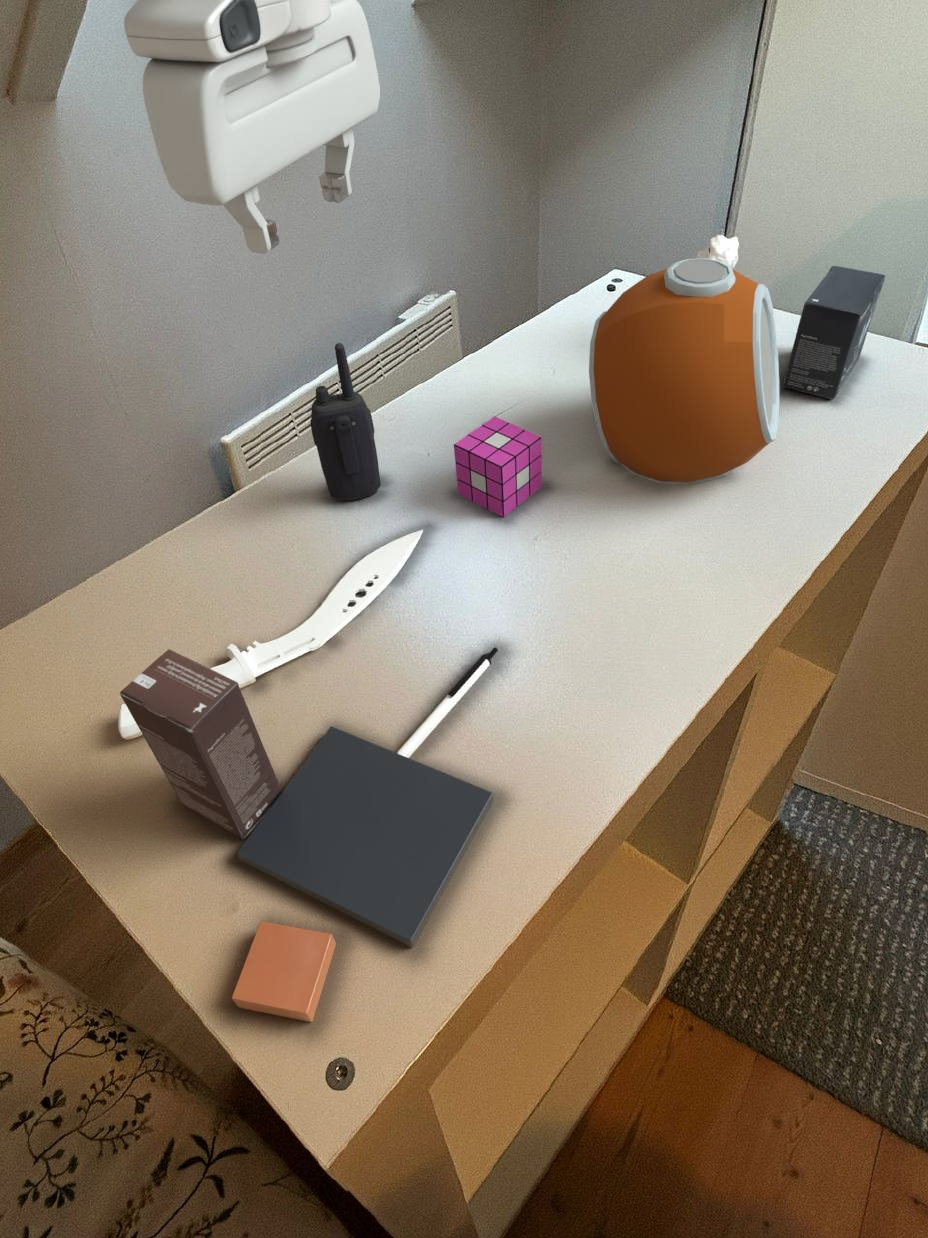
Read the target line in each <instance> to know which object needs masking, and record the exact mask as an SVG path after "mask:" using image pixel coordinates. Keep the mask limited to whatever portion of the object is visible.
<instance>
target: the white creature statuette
mask: <svg viewBox="0 0 928 1238" xmlns="http://www.w3.org/2000/svg"><path fill="white" fill-rule="evenodd" d="M739 245H740V243H739V238H738V237H737V236H732V237H731V238H727V237H726V236H724V234H717V235H715V236H714V237H711V238H710V240H709V242H708V244H707V246H706V247H705V249H702V250H700V251H698V252H697V254H696V255H697V258H706V259H711V260H717V261H721V262H723V263H725V264H726V265H728V266H730V267H731V268H732V270H734V269H735V267H736V265H737V263H738V261H739V253H738V250H739Z"/></svg>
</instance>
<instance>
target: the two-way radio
mask: <svg viewBox="0 0 928 1238" xmlns="http://www.w3.org/2000/svg"><path fill="white" fill-rule="evenodd" d="M334 351H335V358H336V359H335V360H336V366H337V372H338V377H339V383H340V388H341V393H336V394H332V395H330V393H329V390H328V387H326V386H324V385H319V386H317V387H316V388H315V399H314V400H313V402H312V404H311V411H310V413H311V415H310V417H311V419H310V421H309V422H310V428H311V429H310V430H311V434H312V439H313V443H314V445H315V447H316V450H317V454H318V458H319V463H320V467H321V470H322V473H323V477H324V480H325V483H326V487H327V491H328V493H329V495H330V497H331V498H333V499H335V500H336V501H351V500H352V501H353V500H356V499H361V498H365V497H369V496H371V495H374V494H375V493H377V492H378V491H379V489H380V487H381V485H382V484H381V483H382V482H381V475H380V467H379V459H378V452H377V447H376V440H375V425H374V420H373V417H372V416H373V415H372V412H371V410H370V409H369V406H368V405H367V403H366V401H365V399H364V397H363V396H362V395H361V394H360V393H359V392H358V391H355V390H354V385H353V381H352V375H351V371H350V370H351V369H350V367H349V362H348V357H347V354H346V349H345V345H344V343H342V342H337V343H335V345H334Z"/></svg>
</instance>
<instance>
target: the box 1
mask: <svg viewBox="0 0 928 1238" xmlns="http://www.w3.org/2000/svg"><path fill="white" fill-rule="evenodd" d="M119 694H120V695H119V696H120V697H121V699H122V700H123V703H124V704H126V706H127V708H128V709H129V711H130V713H131V715H132V717H133V718H134V720H135V722H136V724H137V725H138V727H139V729H140V731H141V732H142V734H143V735H142V736H143V738H144V739H145V741H146V743H147V745H148V747H149V749H150V750H151V753H152V754H153V756H154V757H155V759H156V761H157V762H158V765H159V766H160V768H161V770H162V771H163V773H164V776H165V777H166V778H167V780H168V782H169V784H170V785H171V788H172V789H173V791H174V793H175V794H176V796H177V798H178V799H179V801H180V803H181V804H182V805H184V806H185V807H187V808H188V809H190V810H191V811H193V812H195V813H197V814H198V815H200V816H201V817H203V818H205V819H207V820H208V821H210V822H212V823H213V824H215V825H216V826H219V827H220V828H222V829H224V830H225V831H227V832H228V833H230V834H232V835H234V836H236V837H237V838H240V839H241V840H244V839H245V838H247V837H248V836H249V835H250V834H251V833H252V832H253V830H254V829H255V828H256V826H257V825H258V824H259V822H260V821H261V820H262V818H263V817H264V816H265V814H266V813H267V812H268V810H269V809H270V808H271V806H272V805H273V803H274V802H275V801H276V799H277V798H278V797H279V795H280V794H281V793H282V791H283V790H282V787H281V785H280V783H279V780H278V778H277V776H276V773H275V770H274V767H273V766H272V764H271V760H270V758H269V756H268V753H267V751H266V749H265V747H264V744H263V741H262V739H261V736H260V734H259V732H258V729H257V726H256V725H255V722H254V719H253V717H252V715H251V712H250V709H249V708H248V705H247V702H246V701H245V697H244V696H243V694H242V690H241V689H240V688H239V685H238V682H236V681H234V680H232V679H230V678H227V677H226V676H224V675H222V674H220V673H218V672H216V671H214V670H211V669H210V667H208V666H205V665H203V664H201V663H199V662H198V661H195V660H193V659H190V658H188V657H187V656H184V655H182V654H180V653H178V652H177V651H174V650H172V649H167V650H166V651H165V652H164V653H162V654H161V655H159V656H158V658H156V659H155V660H154V661H153V662H151V664H150V665H148V666H147V667H146V668H145V669H144V670H143V671H142V672H140V674H138V675H137V677H135V678H134V679H133V680H132V681H131V682H129V684H127V686H125V687H123V689H121V691H120V692H119Z"/></svg>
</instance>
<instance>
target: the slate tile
mask: <svg viewBox="0 0 928 1238" xmlns="http://www.w3.org/2000/svg"><path fill="white" fill-rule="evenodd" d="M493 803H494V793H493V792H492V791H490V790H487V789H484V788H482V787H479V786H477V785H475V784H472V783H470V782H468V781H465V780H462V779H461V778H457V777H455V776H453V775H450V774H448V773H446V772H443V771H441V770H438V769H436V768H433V767H431V766H429V765H426V764H424V763H421V762H419V761H416V760H414V759H412V758H410V757H409V758H407V757H405V756H402V755H400V754H397V752H395V751H392V750H391V749H388V748H385V747H383V746H380V745H378V744H376V743H373V742H371V741H368V740H366V739H363V738H362V737H358V736H356V735H354V734H352V733H349V732H347V731H344V730H342V729H339V728H337V727H334V726H332V725H331V726H330V727H329V728H328V729H327V731H326V732H325V733H324V735H323V736H322V737H321V739H320V740H319V741H318V743H317V744H316V745H315V747H314V748H313V749H312V751H311V752H310V754H308V756H307V758H306V759H305V760H304V761H303V763H302V764H301V765H300V767H299V768H298V770H297V771H296V773H294V775H293V777H292V778H291V779H290V781H289V782H288V783H287V785H286V786H285V787H284V789H283V790H282V793H281V794H280V795H279V797H278V798H277V799H276V801H275V802H274V803H273V805H272V806H271V808H270V809H269V810H268V812H267V813H266V814H265V816H264V817H263V818H262V820H261V821H260V822H259V823H258V824H257V826H256V827H255V828H254V829H253V831H252V832H251V833H250V834H249V835H248V836H247V838H246V839H245V841H244V842H243V844H242V845H241V846H240V848H239V849H238V851H236V856H237V857H238V859H239V861H240V862H242V863H244V864H246V865H248V866H249V867H252V868H253V869H255V870H258V871H260V872H261V873H263V874H266V875H268V876H269V877H272V878H274V879H276V880H277V881H279V882H282V883H283V884H285V885H287V886H289V887H291V888H294V889H295V890H297V891H299V892H301V893H303V894H305V895H307V896H309V897H311V898H313V899H315V900H317V901H318V902H321V903H323V904H324V905H326V906H328V907H331V908H332V909H334V910H336V911H338V912H341V913H342V914H344V915H346V916H348V917H351V918H352V919H354V920H356V921H358V922H360V923H361V924H364V925H366V926H368V927H370V928H372V929H374V930H376V931H378V932H379V933H382V934H384V935H386V936H387V937H390V938H392V939H394V940H395V941H397V942H399V943H401V944H404V945H406V946H407V947H409V948H411V949H413V948H414V947H415V945H416V943H417V941H418V939H419V938H420V936H421V934H422V932H423V930H424V928H425V927H426V926H427V924H428V921H429V919H430V917H431V916H432V914H433V912H434V910H435V908H436V907H437V905H438V903H439V901H440V900H441V897H442V896H443V893H444V892H445V891H446V888H447V886H449V885H448V884H449V883H450V881H451V879H452V877H453V876H454V874H455V872H456V870H457V868H458V866H459V864H460V863H461V861H462V859H463V857H464V856H465V853H466V852H467V850H468V848H469V847H470V844H471V843H472V842H473V839H474V837H475V836H476V833H477V832H478V830H479V829H480V826H481V824H482V823H483V822H484V819H485V818H486V815H487V814H488V812H489V810H490V808H491V807H492V805H493Z"/></svg>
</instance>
